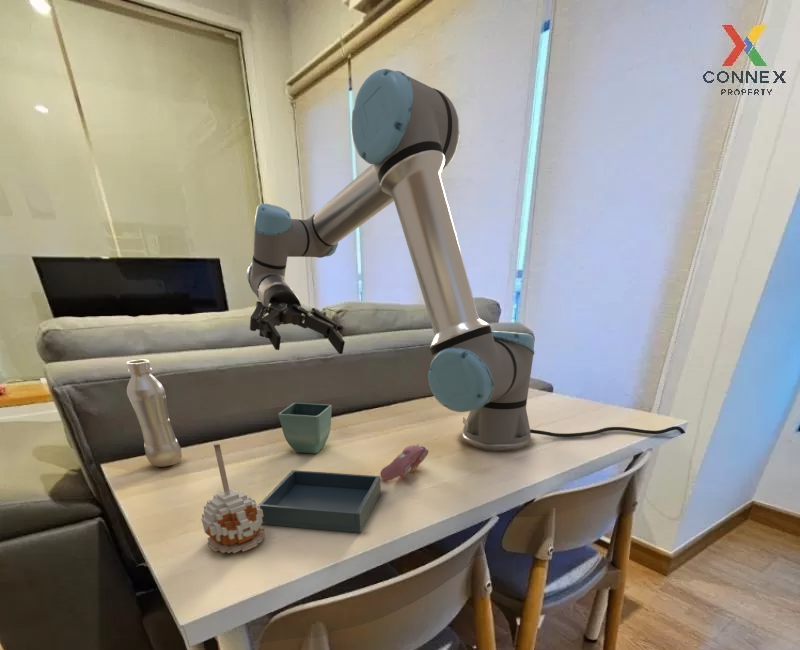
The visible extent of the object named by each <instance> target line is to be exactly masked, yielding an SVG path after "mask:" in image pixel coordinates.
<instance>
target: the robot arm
mask: <svg viewBox="0 0 800 650" xmlns="http://www.w3.org/2000/svg"><path fill="white" fill-rule="evenodd" d="M351 112H352V113H351V119H350V131H351V138H352V143H353V146H354V149H355V151H356V153H357V154H358V155H359V157H360V158H361V159H362V160H364V162H366V163H367V164H369V165H370V166H368V167H367V168H366V169H365V170H363V171H362V172H360V174H359V175H358V176H356V177H355V178H354V179H353V180H352V181H351V182H350V183H348V184H347V185H346V186H345V187H344V188H342V190H341V191H339V192H338V193H337V194H336V195H334V196H333V197H332V198H331V199H330V200H329V201H327V203H325V204H323V206H322V207H320V208H319V209H318V210H317V211H316V212H314V214H312V215H311V216H310V217H309V218H306V219H299V218H292V215H291V213H290V211H288V210H287V209H286V208H283V207H281V206H278V205H275V204H270V203H261V204H259V205H257V207H256V211H255V216H254V217H255V218H254V222H253V228H254V229H253V232H254V233H253V254H252V261H251V263H250V264H249V265H248V267H247V270H246V279H247V282H248V284H249V287H250V289H251V291H252V292H253V294H255V296H256V297H257V299H258V300H259V301H256V302H255V309H254V311H253V312H252V314H251V315H250V320H249V323H250V324H249V330H250V331H251V332H257V331H259V332H258V335H259V337H261V338H265V339H268V340H269V341H270V343H271V345H272V346H273V348H274V350H275V351H280V349H281V338H282V336H281V334H280V333H279V331H278V330H277V328H276V327H279V326H281V325H290V324H292V325H294V326H299V327H301V328H302V329H309V330H312V331H314V332H317V333H318V334H321V335H323V336H324V337H327V341H328V342H329V343H330V344H331V345H332V346H333V348H334V349H335V351H336V352H337V354H339V355H343V352H344V348H345V343H346V342H345V340H344V339H343V333H344V326H343V325H342V324H340V323H339V322H337V321H335V320H334V319H332V318H330V317H328V316H327V315H325V314H323V313H322V312H320V311H319V310H318V309H317V308H315V307H312V308H311V310H310V311H309V310H307V309H306V308H305V307H302V304H301V301H300V299H299V297H298V296H297V294H296V293H295V292H294V290H293V289H292V288H291V286H290V285H289V284H288V282H287V280H286V279H285V278H286V271H287V264H288V258H299V257H300V258H318V259H319V258H325V257H326V258H327V257H331V256H332V255H334V254H335V253H336V251H337V248H338V246H339V242H340V241H342V240H343V239H344V238H346V237H347V236H348V235H350V234H351V233H353V232H354V231H355V230H357V229H358V228H359V227H361V226H362V225H363V224H365V223H366V222H367V221H369V220H370V219H371V218H373V217H374V216H376V215H377V214H378V213H380V212H381V211H382V210H383V209H386V208H387V207H388V206H390V205H391V204H392V203H394V205H395V209H396V213H397V216H398V218H399V221H400V225H401V229H402V232H403V236H404V238H405V242H406V245H407V248H408V252H409V255H410V258H411V261H412V265H413V268H414V271H415V275H416V278H417V281H418V285H419V288H420V292H421V294H422V298H423V301H424V304H425V308H426V311H427V314H428V316H429V321H430V324H431V327H432V331H433V334H434V335H433V339H432V341H431V344H430V346H429V349H430V352H431V355H432V360H431V362H430V364H429V367H430V368H429V370H428V373H427V380H428V385H429V389H430V391H431V393H432V396H433V397H434V398H435V399H436V401H437V402H438V403H439V404H440V405H441V406H442V407H444V408H446V409H447V410H450V411H452V412H456V413H466V412H469V413H468V416H467V418H466V417H464V416H463V417H462V423H463V425H464V426H463V428H462V435H461V436H462V437H461V440H462V441H463V442H464V443H465V444H466V445H468V446H469V447H472V448H475V449H479V450H484V451H493V452H509V451H517V450H522V449H523V448H526V447H528V446H530V443H531V436H532V435H531V434H536V435H543V436H547V437H555V438H577V437H586V436H593V435H594V436H595V435H598V434H602V433H605V432H611V431H612V432H613V431H621V432H622V431H623V432H632V433H638V434H645V435H662V434H666V433H668V432H672V431H678V432H679V433H680V434H686V431H685V430H684V429H683V427H681V426H678V425H677V426H676V425H673V426H669V427H667V428H663V429H658V430H653V429H652V430H650V429H648V430H647V429H641V428H634V427H626V426H608V427H603V428H599V429H596V430H592V431H583V432H582V431H581V432H568V433H563V432H562V433H560V432H551V431H545V430H539V429H532V428H531V427H530V421H529V416H528V411H527V404H528V396H529V390H530V382H531V374H532V367H533V361H534V355H535V338H534V336H533V335H532V334H530V333H523V332H510V331H498V330H497V331H496V330H492V328H491V324H490V323H488V322H487V321H485V320H483V319H481V318H480V316H479V312H478V309H477V306H476V302H475V299H474V295H473V291H472V288H471V284H470V281H469V276H468V273H467V269H466V266H465V262H464V258H463V255H462V251H461V247H460V244H459V240H458V236H457V231H456V230H455V229H456V228H455V225H454V222H453V218H452V214H451V211H450V207H449V203H448V200H447V196H446V192H445V189H444V186H443V182H442V178H441V174H442V173H443V172H444V171H445V170H446V169H447V167H448V166H449V165H450V163H451V162H452V160H453V159H454V157H455V155H456V153H457V149H458V146H459V142H460V141H459V140H460V133H461V132H460V130H461V129H460V119H459V115H458V113H457V109H456V108H455V105H454V103H453V101H452V100H451V99H450V98H449V97H448V95H446V94H445V93H444V92H442V91H441V90H439V89H436V88H434V87H431V86H429V85H427V84H426V83H423V82H421V81H419V80H417V79H415V78H413V77H411V76H409V75H407V74H406V73H405V72H402V71H401V70H393V69H389V68H381V69H378V70H376V71H374V72H372V73H371V74H370V75H369V76H368V77H366V79H365V80H364V81H363V83H362V84H361V86H360V88H359V90H358V91H357V94H356V97H355V99H354V107H353V109H352V111H351Z"/></svg>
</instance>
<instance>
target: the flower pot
mask: <svg viewBox="0 0 800 650" xmlns="http://www.w3.org/2000/svg"><path fill="white" fill-rule="evenodd" d="M332 407H333V405H332V404H322V403H306V402H293V403H291V404H290V405H288V406H287V407H286V408H284V409H283V410H281V411H280V412H279V413H278V414H277V415H278V419H279V423H280V426H281V430H282V433H283V436H284V438H285V441H286V442H287V444H288V446H289V447H290V448H291V449H292V450H293V451H294V453H303V454H304V453H306V454H319V452H320V451H321V450H322V449H323V448H324V447H325V445H326V444H327V441H328V439H329V436H330V434H331V429H332V410H333V409H332Z"/></svg>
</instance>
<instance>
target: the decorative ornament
mask: <svg viewBox="0 0 800 650" xmlns="http://www.w3.org/2000/svg"><path fill="white" fill-rule="evenodd" d="M213 448H214V453H215V457H216V462H217V466H218V470H219V475H220V480H221V484H222V489H223V491H221V492H219V493H216V494H213V497H212V499H208V500H207V501H206V503H205V505H203V513H202V514H201V518H200V520H201V523H202V527H203V531H204V533H205V534H206V536H209V537H207V546H208V547H209V548H210V549H211V550H213V552H215V553H216V552H218V551H219V552H221V553H222V554H225V553H228V554H230V553H233V554H235V553H238V552H240V551H242V552H246V551H248V550H251V549H253V548H255V547H258V544H260V543H261V542H263V540H264V539H265V537H266V534H265V528H264V527H262V524H261V523H263V521H262V517H264V516H263V511H262V510H261V509H260V505H259V503H257V502H256V499H254V498H253V497H252V496H250V495H248V494H246V493H244V492H243V491H241V490H237V491H235V490H233V489H230V487H229V481H228V478H227V473H226V468H225V463H224V458H223V454H222V449H221V444H220V443H214V444H213Z"/></svg>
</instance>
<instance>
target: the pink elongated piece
mask: <svg viewBox="0 0 800 650" xmlns="http://www.w3.org/2000/svg"><path fill="white" fill-rule="evenodd" d="M428 454H429V449H428V448H426V447H425V446H423V445H420V444H419V443H417V444H416V445H409V446H407V447H405V448H404V449H403V450H402V452H401V453H400V454H398V455H397V456H396V457H395V458H394V459H393V460H392V461H391V462H390V463H389V464H388V465H386V466H384V467H383V468H382V469H381V471H380V473H379V476H380V479H382V480H383V481H391V480H395V479H396V478H398V477H400V478H401V479H405V478H406V477H407V475H409V473H411V474H412V473H414V472H415V471H417V469H418V467H419V466H420V464H421V463H422V462H424V460H425V459H426V457H428Z"/></svg>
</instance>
